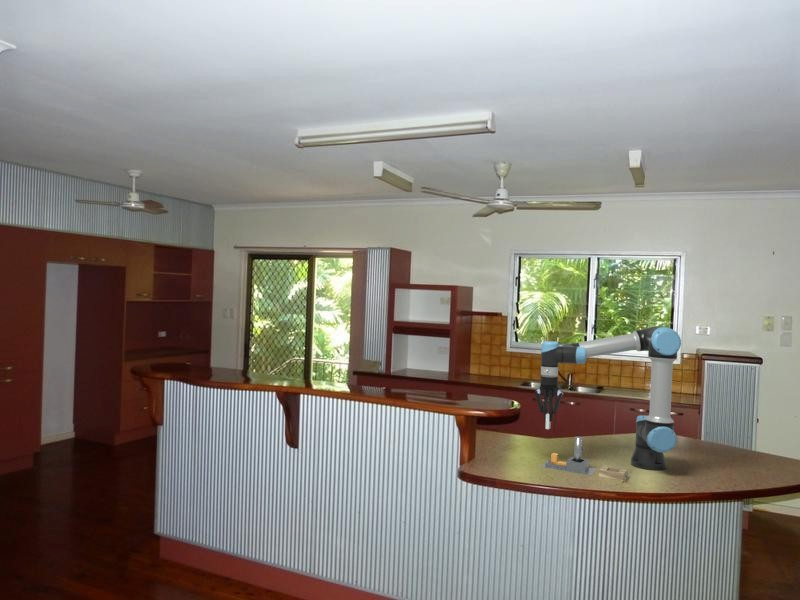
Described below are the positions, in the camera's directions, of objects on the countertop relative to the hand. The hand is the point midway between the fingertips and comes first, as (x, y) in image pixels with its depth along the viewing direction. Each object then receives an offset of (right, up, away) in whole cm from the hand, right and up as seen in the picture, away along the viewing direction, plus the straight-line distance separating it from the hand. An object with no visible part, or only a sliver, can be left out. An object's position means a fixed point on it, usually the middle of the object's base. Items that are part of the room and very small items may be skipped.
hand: (548, 428), depth 276 cm
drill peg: (+11, -17, -7) cm, 21 cm away
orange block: (+5, -16, -3) cm, 17 cm away
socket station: (+9, -18, -5) cm, 20 cm away
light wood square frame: (+24, -18, -14) cm, 33 cm away
